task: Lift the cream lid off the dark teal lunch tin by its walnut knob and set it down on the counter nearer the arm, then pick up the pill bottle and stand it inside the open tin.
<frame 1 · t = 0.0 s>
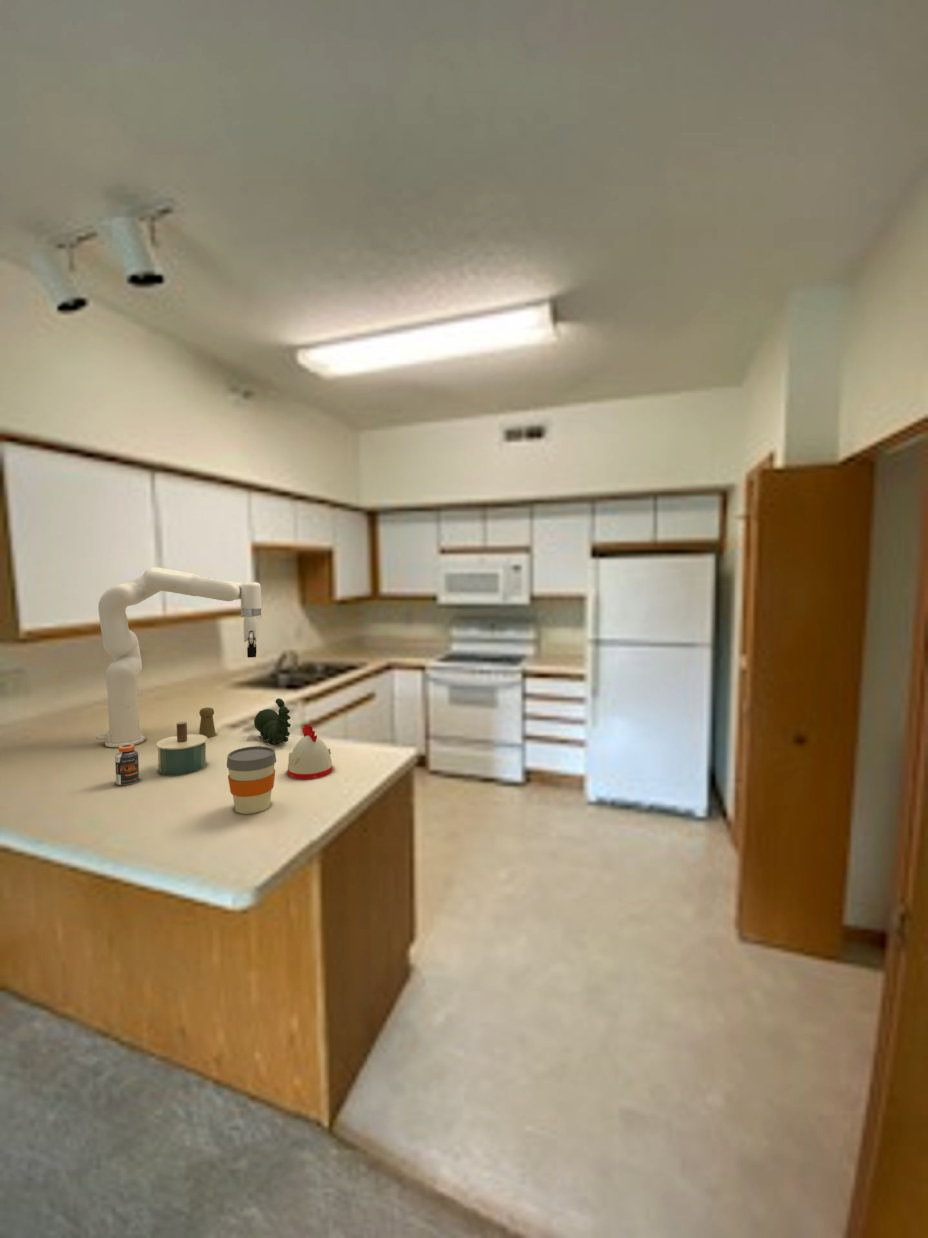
hand: (252, 655, 211), 31 cm above the countertop, tool pointing down, fingers open, 9 cm apart
cork: (207, 735, 208), on the countertop
lid: (182, 742, 172), point 8 cm above the countertop, touching tin
toy figurine: (272, 741, 202), on the countertop
reusable coffee cup: (252, 807, 144), on the countertop
kitchen timer: (310, 771, 171), on the countertop
tin: (183, 767, 173), on the countertop
pill bottle: (127, 782, 160), on the countertop
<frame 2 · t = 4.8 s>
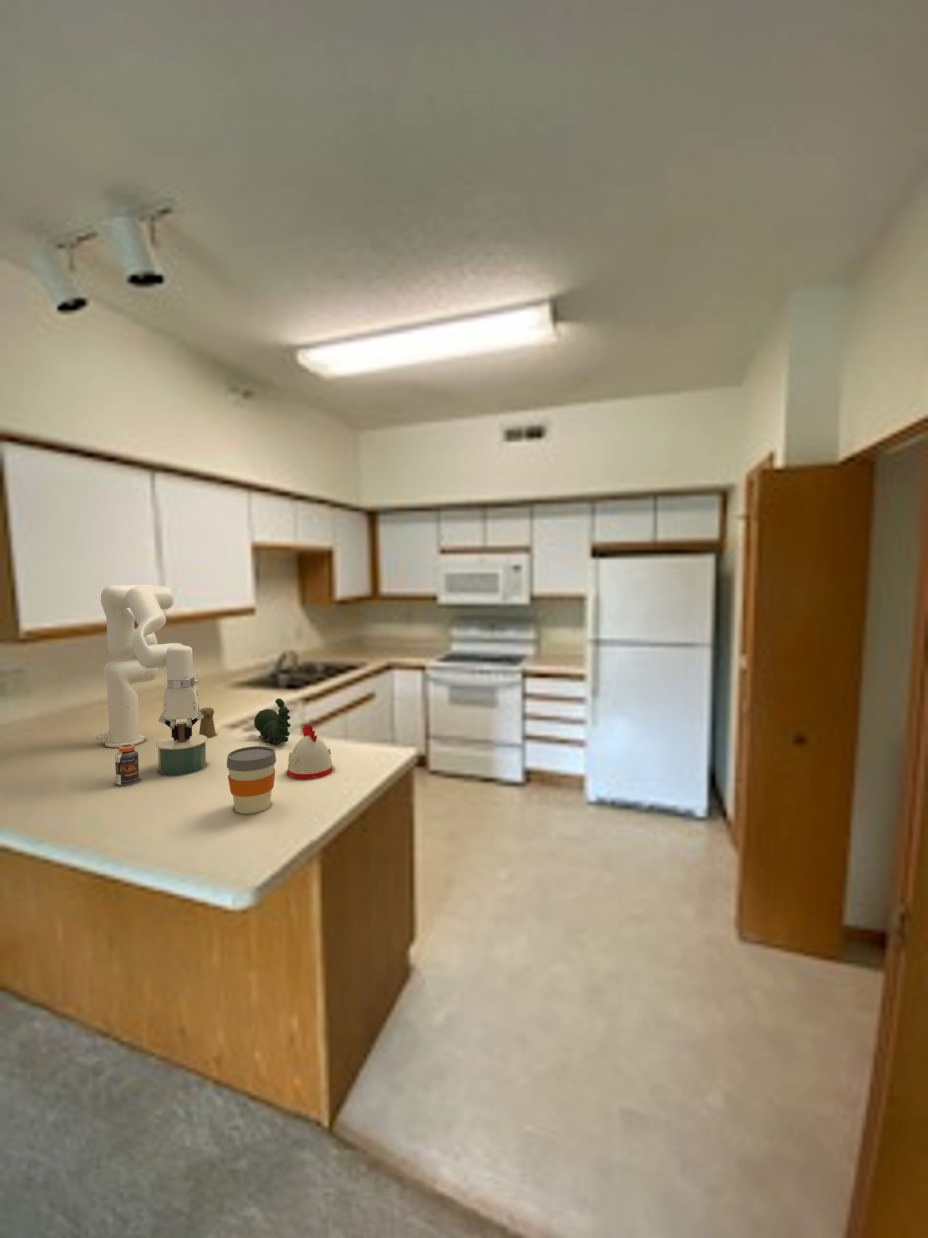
hand: (182, 738, 172), 10 cm above the countertop, tool pointing down, fingers closed on lid, 3 cm apart
lid: (182, 742, 172), point 9 cm above the countertop, touching gripper, tin
everything else where it was.
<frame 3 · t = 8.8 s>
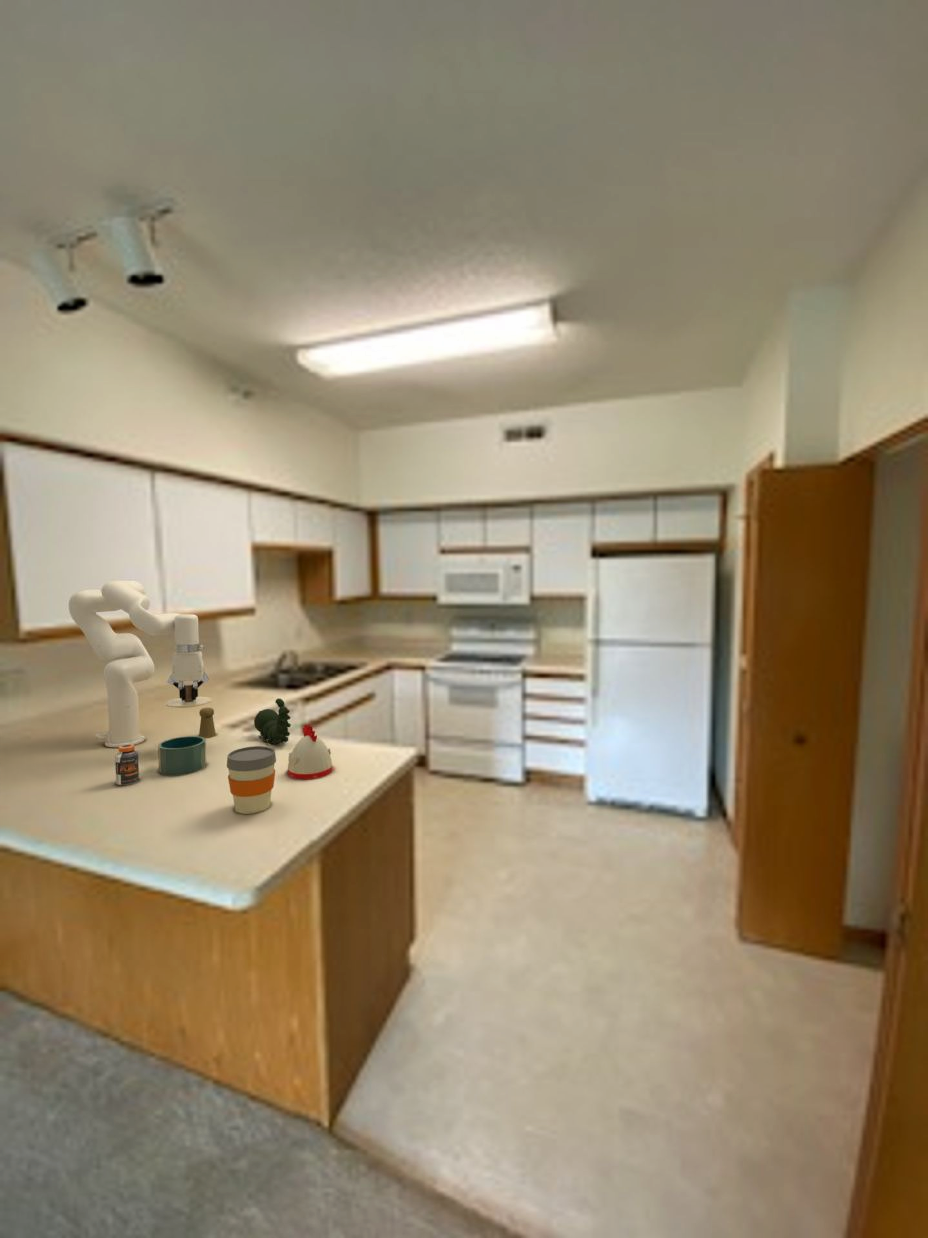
hand: (188, 699, 188), 19 cm above the countertop, tool pointing down, fingers closed on lid, 3 cm apart
lid: (189, 702, 189), point 18 cm above the countertop, touching gripper
everything else where it was.
when the fingers open (2 cm above the countertop, at t = 12.6 s): lid stays where it is, point 1 cm above the countertop.
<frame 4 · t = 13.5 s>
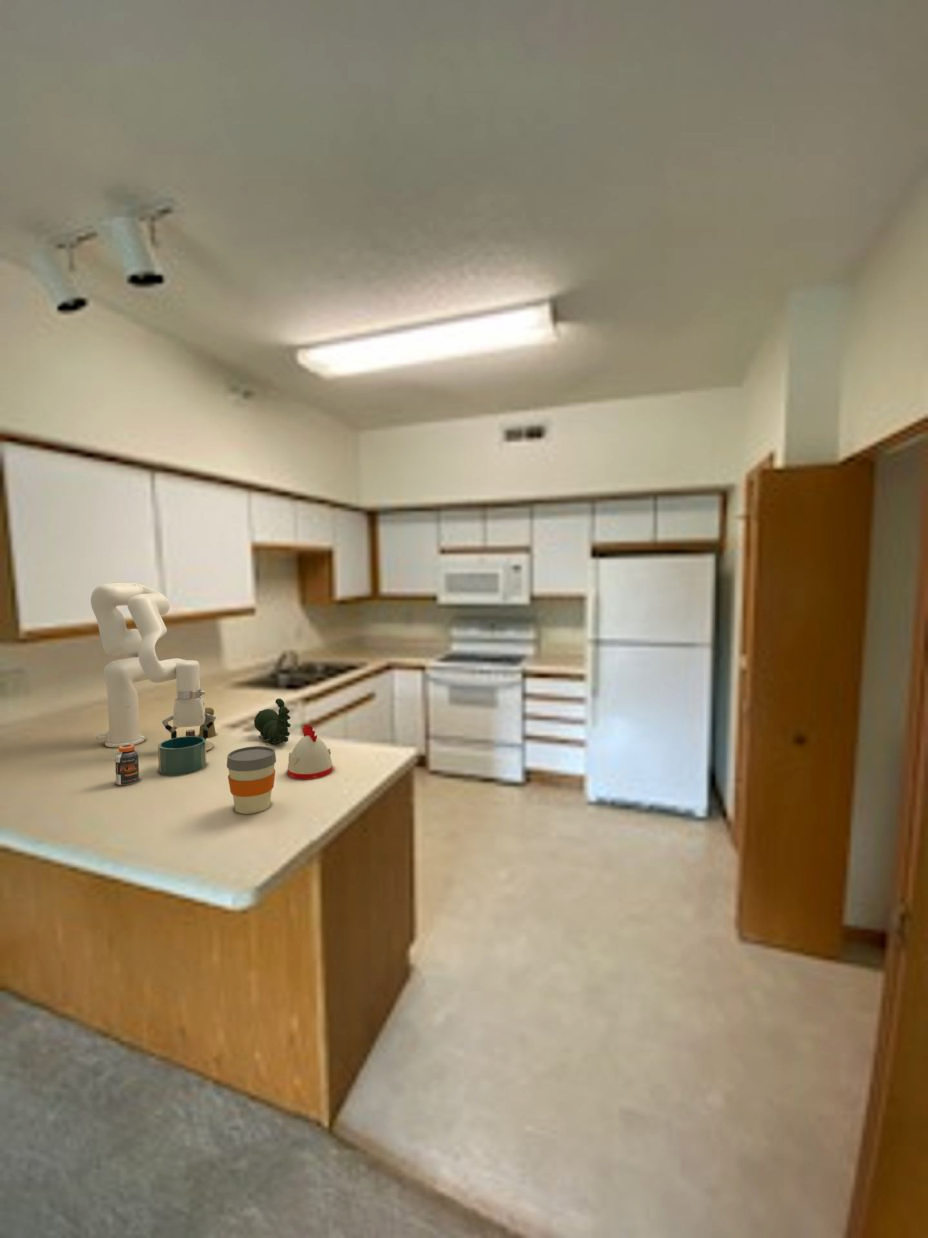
hand: (190, 741, 190), 3 cm above the countertop, tool pointing down, fingers open, 9 cm apart
lid: (190, 748, 190), point 1 cm above the countertop
everything else where it was.
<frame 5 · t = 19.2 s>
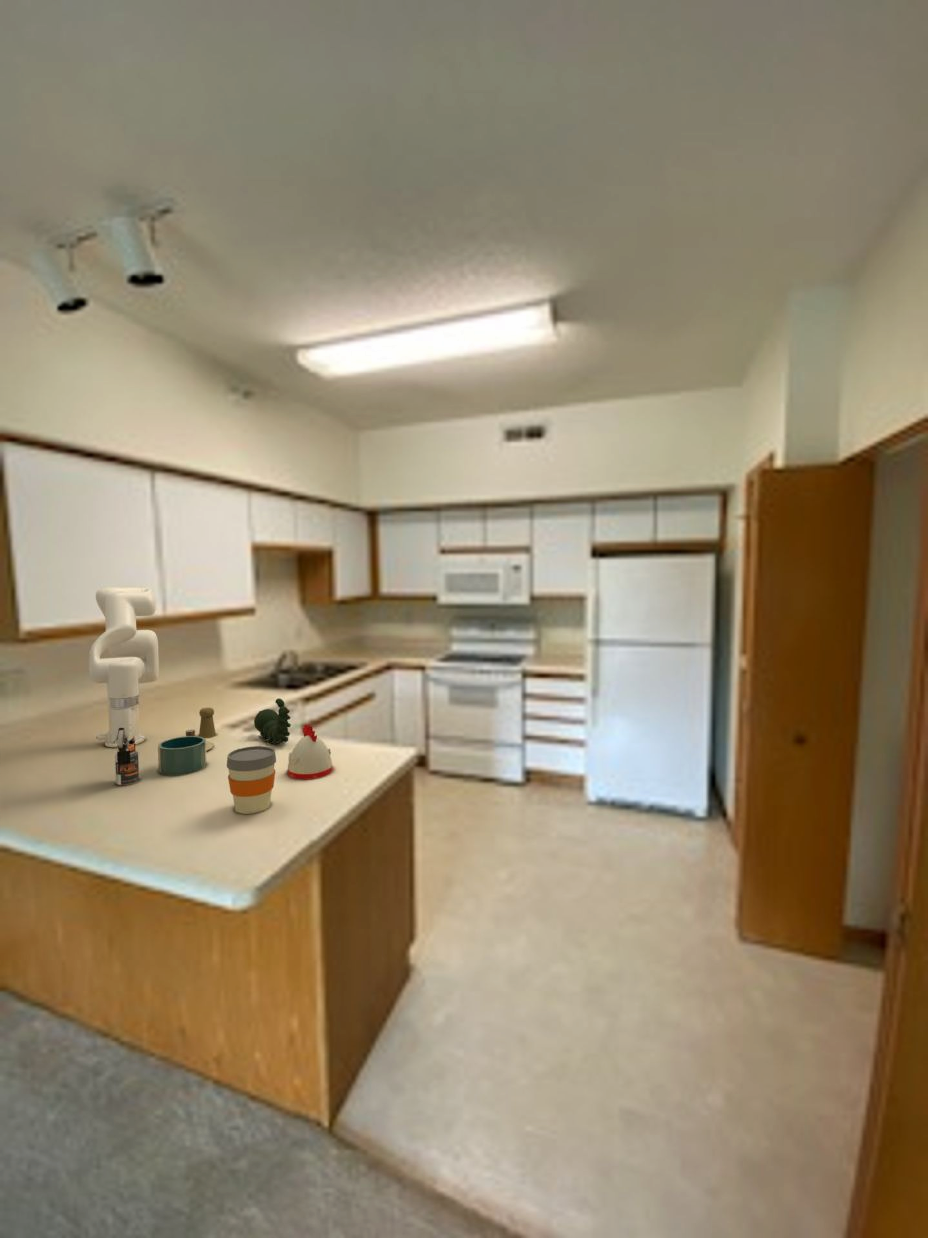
hand: (126, 759, 160), 7 cm above the countertop, tool pointing down, fingers closed on pill bottle, 6 cm apart
pill bottle: (127, 782, 160), on the countertop, touching gripper
everything else where it was.
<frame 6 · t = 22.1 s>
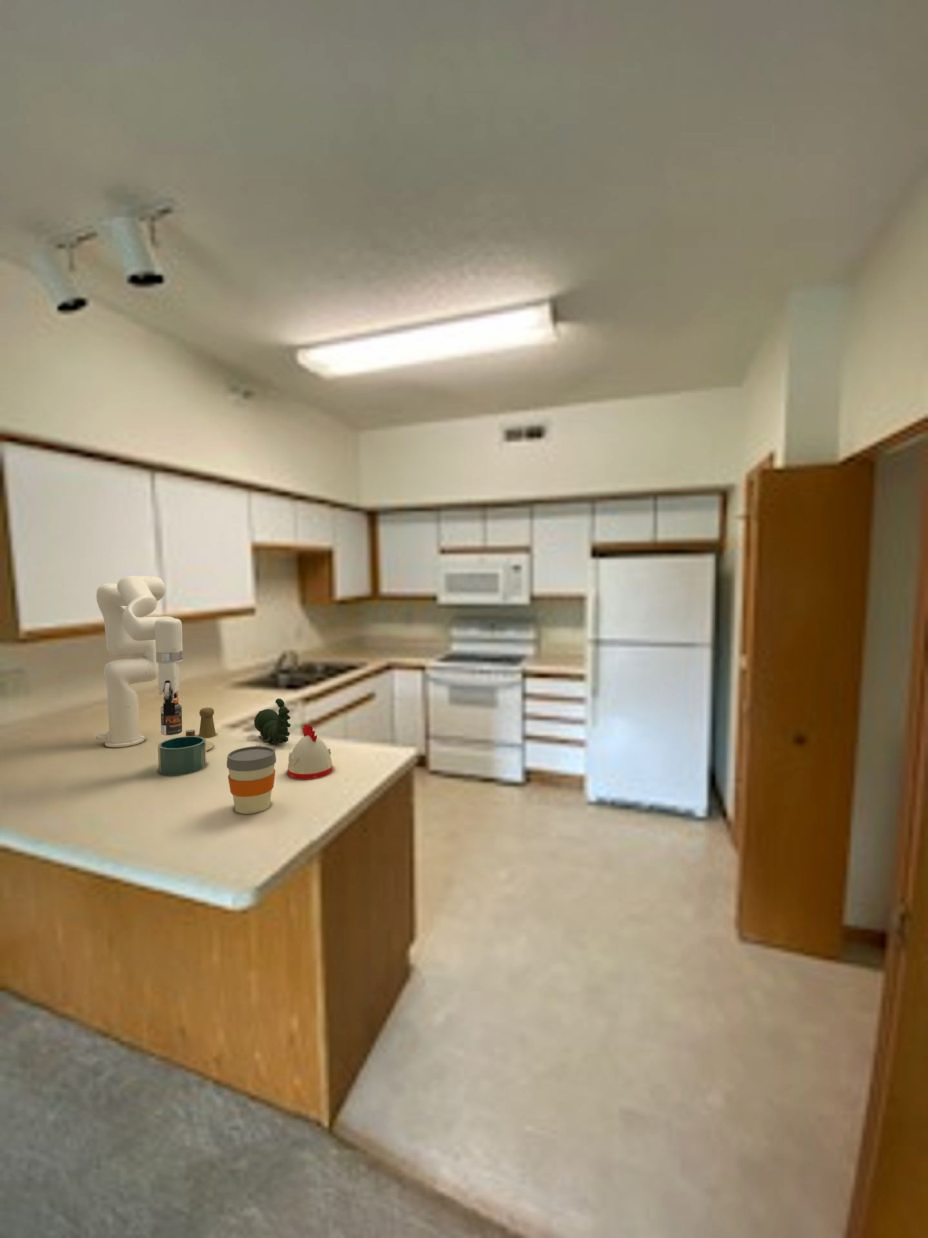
hand: (171, 712, 169), 19 cm above the countertop, tool pointing down, fingers closed on pill bottle, 6 cm apart
pill bottle: (171, 733, 169), point 12 cm above the countertop, touching gripper
everything else where it was.
when the fingers open (7 cm above the countertop, at t = 25.5 s): pill bottle stays where it is, resting on tin.
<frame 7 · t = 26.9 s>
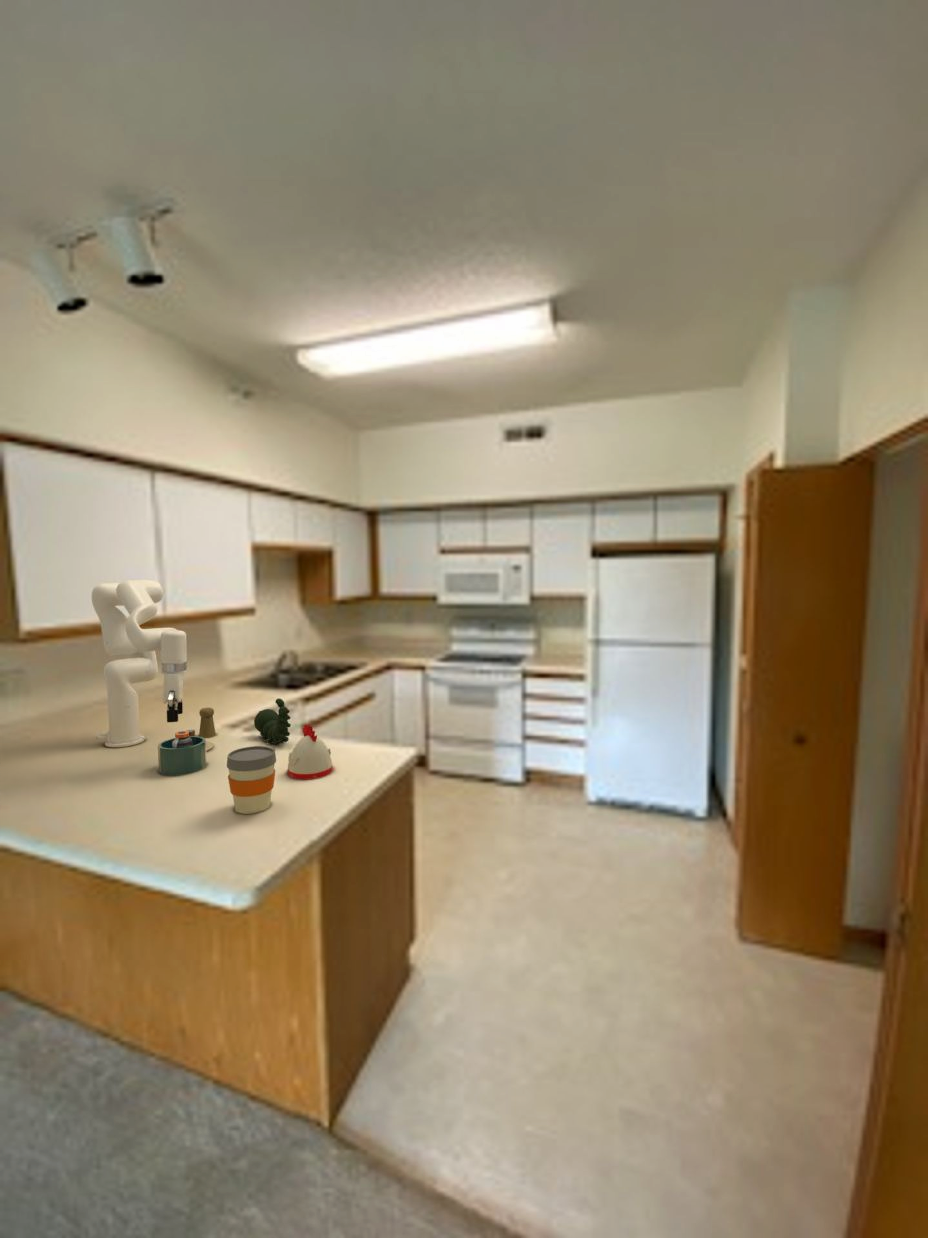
hand: (175, 717, 176), 15 cm above the countertop, tool pointing down, fingers open, 9 cm apart
pill bottle: (182, 766, 173), resting on tin
everything else where it was.
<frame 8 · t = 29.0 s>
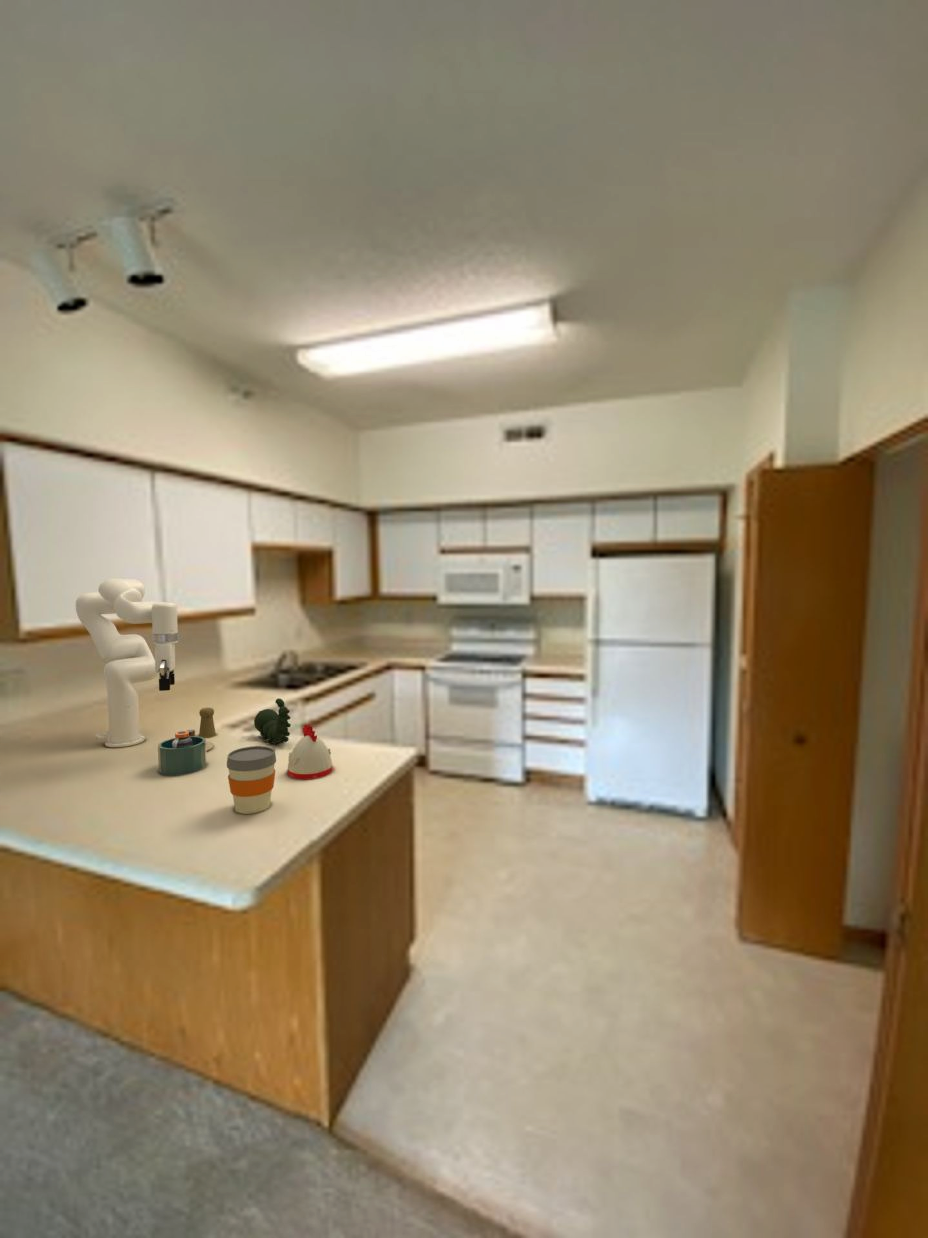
hand: (167, 687, 182), 24 cm above the countertop, tool pointing down, fingers open, 9 cm apart
nothing on the countertop moved.
at the end: lid inside the target area (0.1 cm from its centre), point 0.6 cm above the countertop; pill bottle inside the target area in the tin (0.1 cm from its centre), point 0.3 cm above the tin's base; pill bottle tilted 0° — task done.
